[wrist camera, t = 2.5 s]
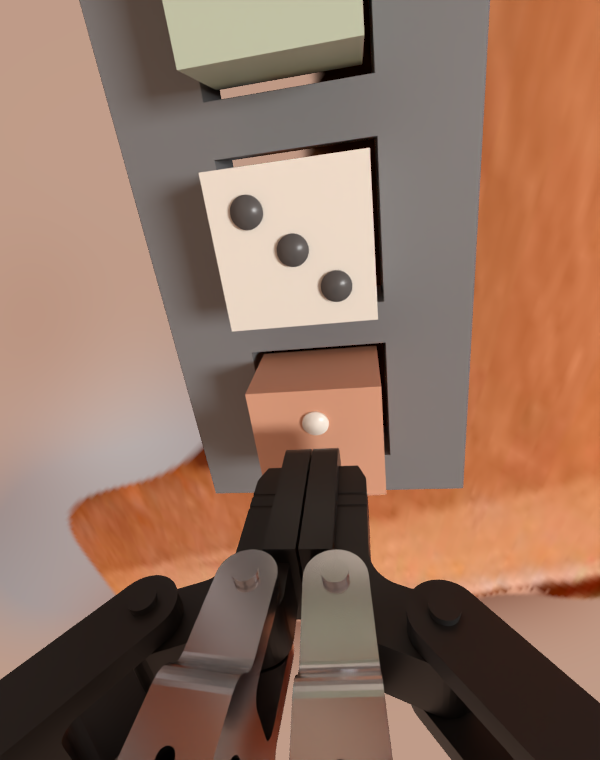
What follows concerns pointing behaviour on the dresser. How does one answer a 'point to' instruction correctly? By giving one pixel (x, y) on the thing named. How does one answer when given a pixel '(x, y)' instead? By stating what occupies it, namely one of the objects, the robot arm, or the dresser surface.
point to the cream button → (295, 240)
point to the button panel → (394, 203)
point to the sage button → (263, 38)
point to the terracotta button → (320, 408)
